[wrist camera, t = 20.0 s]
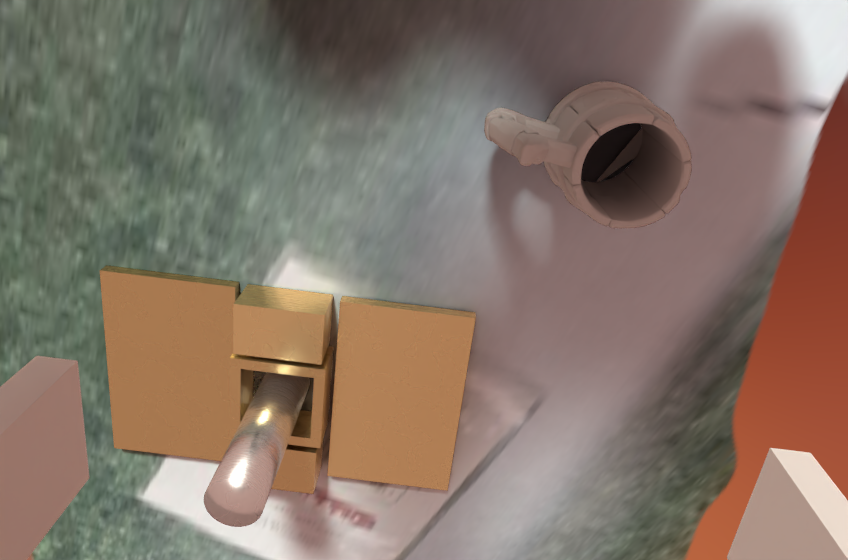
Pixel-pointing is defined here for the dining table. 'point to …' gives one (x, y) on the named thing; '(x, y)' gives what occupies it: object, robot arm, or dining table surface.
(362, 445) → the hinge flap with knuckles
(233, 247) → the dining table surface
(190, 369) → the fixed leaf
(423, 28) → the dining table surface
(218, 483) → the pin
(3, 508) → the robot arm
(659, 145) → the mug
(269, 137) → the dining table surface
